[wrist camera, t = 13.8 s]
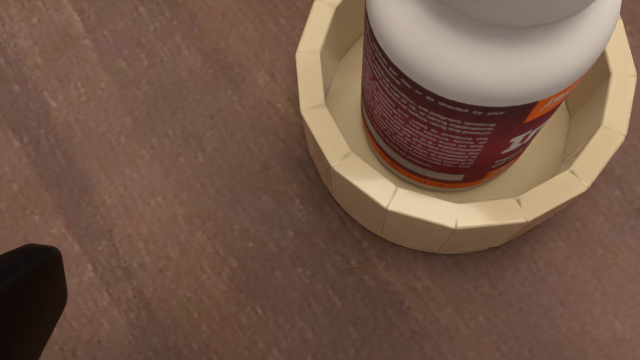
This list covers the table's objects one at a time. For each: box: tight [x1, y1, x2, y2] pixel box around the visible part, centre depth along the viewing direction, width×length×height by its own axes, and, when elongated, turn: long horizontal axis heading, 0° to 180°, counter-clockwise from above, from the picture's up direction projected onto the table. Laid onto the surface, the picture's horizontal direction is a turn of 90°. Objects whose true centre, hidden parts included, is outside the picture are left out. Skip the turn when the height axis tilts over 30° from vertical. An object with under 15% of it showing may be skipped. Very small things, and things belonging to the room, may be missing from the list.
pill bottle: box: [361, 0, 622, 191], centre depth 17 cm, size 6×6×11 cm
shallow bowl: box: [295, 0, 637, 254], centre depth 21 cm, size 10×10×4 cm
